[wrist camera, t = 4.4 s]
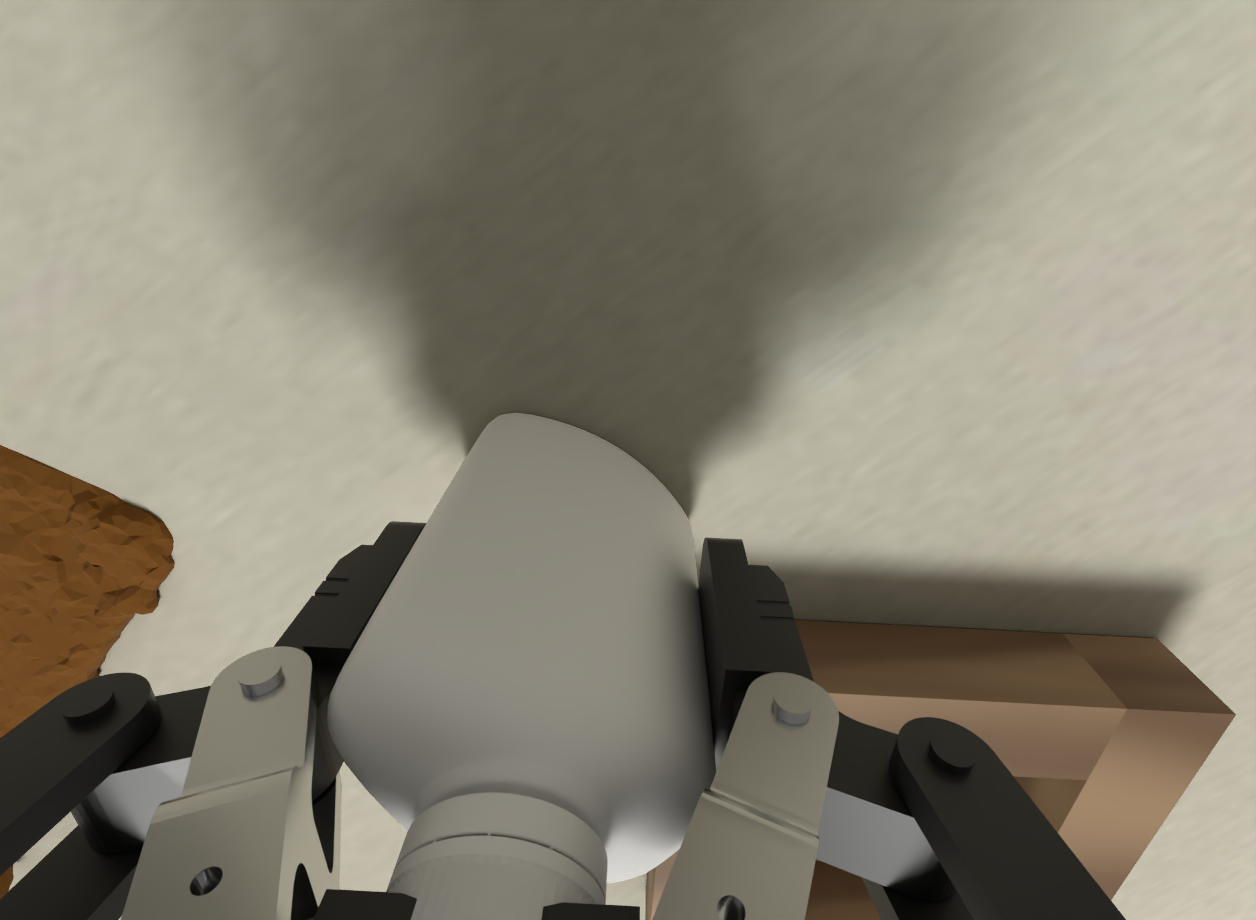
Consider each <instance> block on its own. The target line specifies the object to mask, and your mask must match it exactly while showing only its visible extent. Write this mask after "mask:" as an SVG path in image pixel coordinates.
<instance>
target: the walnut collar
mask: <svg viewBox="0 0 1256 920" xmlns="http://www.w3.org/2000/svg"><path fill="white" fill-rule="evenodd" d="M794 622H796V625H797V628H798V632H799V635H800V638H801V641H802V645H803V648H804V651H805V654H806V658H807V661H808V664H809V667H810V671H811V674H812V677H813V680H814V682H815V683H816V684H818V685H819V686H820V687H822V688H823V689H824V690H825V691H826V692H827V693H828V694H829V695H830V697H831V698H832V699H833V701H834V703H835V704H836V707H837V709H838V711H839V712H841V713H843V714H844V715H846V716H848V717H850V718H852V719H854V720H856V721H858V722H861V723H864V724H867V725H870V726H873V727H876V728H879V729H883V730H886V731H889V732H892V733H895V734H899V731H900V729H901V728H902V727H903V725H904V724H906V723H907V722H908V721H910V720H913V719H916V718H921V717H934V718H940V719H944V720H948V721H951V722H954V723H956V724H958V725H960V726H963V727H965V728H966V729H968V730H970V731H971V732H973V733H974V734H976V735H977V736H978V737H980V738H981V739H982V740H983V741H984V742H985V743H986V744H988V745H989V747H990V748H991V749H992V750H993V751H994V752H995V754H996V755H997V756H998V757H999V759H1000V760H1001V761H1002V762H1003V764H1004V765H1005V766H1006V768H1007V769H1008V770H1009V771H1010V773H1011V774H1012V775H1013V776H1014V778H1015V779H1016V780H1017V782H1018V783H1019V784H1020V785H1021V787H1022V788H1023V789H1024V791H1025V792H1026V793H1027V794H1028V796H1029V797H1030V798H1031V799H1032V801H1033V802H1034V803H1035V805H1036V806H1037V807H1038V808H1039V810H1040V811H1041V812H1042V813H1043V815H1044V816H1045V817H1046V819H1047V820H1048V821H1049V822H1050V824H1051V825H1052V826H1053V827H1054V829H1055V830H1056V831H1057V833H1058V834H1059V835H1060V836H1061V838H1062V839H1063V840H1064V842H1065V843H1066V844H1067V845H1068V847H1069V848H1070V849H1071V850H1072V852H1073V853H1074V854H1075V856H1076V857H1077V858H1078V859H1079V861H1080V862H1081V863H1082V864H1083V866H1084V867H1085V868H1086V870H1087V871H1088V872H1089V873H1090V875H1091V876H1092V877H1093V878H1094V880H1095V881H1096V882H1097V884H1098V885H1099V886H1100V887H1101V889H1102V890H1103V891H1104V892H1105V894H1106V895H1107V896H1108V898H1109V899H1110V900H1112V898H1113V897H1114V895H1115V894H1116V892H1117V891H1118V889H1119V888H1120V886H1121V885H1122V883H1123V882H1124V880H1125V879H1126V877H1127V876H1128V874H1129V873H1130V871H1131V870H1132V868H1133V867H1134V865H1135V864H1136V862H1137V861H1138V859H1139V858H1140V856H1141V855H1142V854H1143V852H1144V851H1145V849H1146V848H1147V846H1148V845H1149V843H1150V842H1151V840H1152V839H1153V837H1154V836H1155V834H1156V833H1157V831H1158V830H1159V828H1160V827H1161V825H1162V824H1163V822H1164V821H1165V819H1166V818H1167V816H1168V815H1169V813H1170V812H1171V810H1172V809H1173V807H1174V806H1175V804H1176V803H1177V802H1178V800H1179V799H1180V797H1181V796H1182V794H1183V793H1184V791H1185V790H1186V788H1187V787H1188V785H1189V784H1190V782H1191V781H1192V779H1193V778H1194V776H1195V775H1196V773H1197V772H1198V770H1199V769H1200V767H1201V766H1202V764H1203V763H1204V761H1205V760H1206V758H1207V757H1208V755H1209V754H1210V752H1211V751H1212V750H1213V748H1214V747H1215V745H1216V744H1217V742H1218V741H1219V739H1220V738H1221V736H1222V735H1223V733H1224V732H1225V730H1226V729H1227V727H1228V726H1229V724H1230V723H1231V721H1232V720H1233V718H1234V717H1235V715H1236V714H1235V713H1234V712H1233V711H1232V710H1231V709H1230V708H1229V707H1228V706H1227V705H1225V704H1224V703H1223V702H1222V701H1221V700H1220V699H1219V698H1218V697H1217V696H1216V695H1215V694H1214V693H1213V692H1212V691H1211V690H1210V689H1209V688H1208V687H1207V686H1206V685H1205V684H1204V683H1203V682H1202V681H1201V680H1200V679H1198V678H1197V677H1196V676H1195V675H1194V674H1193V673H1192V672H1191V671H1190V670H1189V669H1188V668H1187V667H1186V666H1185V665H1184V664H1183V663H1182V662H1181V661H1180V660H1179V659H1178V658H1177V657H1176V656H1175V655H1174V654H1173V653H1172V652H1170V651H1169V650H1168V649H1167V648H1166V647H1165V646H1164V645H1163V644H1162V643H1161V642H1160V641H1159V640H1158V639H1156V638H1137V637H1117V636H1098V635H1078V634H1059V633H1040V632H1020V631H1001V630H982V629H962V628H943V627H924V626H904V625H885V624H865V623H846V622H827V621H807V620H794ZM678 852H679V850H678V851H676V852H675V853H674V854H673V855H671V856H670V857H669V858H668V859H666V860H665V861H664V862H662V863H661V864H659V865H658V866H657V867H655V868H653V869H652V870H650V871H649V872H648V874H647V885H646V920H652V919H653V916H654V914H655V911H656V908H657V906H658V903H659V901H660V898H661V896H662V893H663V890H664V888H665V885H666V883H667V880H668V877H669V875H670V872H671V870H672V867H673V865H674V862H675V859H676V857H677V854H678ZM805 920H881V918H880V916H879V914H878V912H877V910H876V907H875V905H874V903H873V901H872V899H871V897H870V895H869V892H868V890H867V888H866V886H865V884H864V882H863V879H862V877H860V876H858V875H855V874H852V873H850V872H847V871H845V870H842V869H840V868H837V867H835V866H832V865H830V864H827V863H824V862H822V861H815V867H814V872H813V877H812V883H811V888H810V894H809V899H808V904H807V910H806V915H805Z"/></svg>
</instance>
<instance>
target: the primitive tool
mask: <svg viewBox="0 0 1256 920" xmlns="http://www.w3.org/2000/svg"><path fill="white" fill-rule="evenodd" d="M173 542H174V541H173V537H172V535H171V533H170V531H169V530H168V528H167V527H166V525H165V524H164V522H163V521H161V520H159V519H157V518H156V517H155V516H154V515H152V514H151V513H149V512H146V511H145V510H143V509H141V508H138V507H135V506H132V505H130V504H128V503H126V502H124V501H123V500H121V499H120V498H118V497H117V496H115V495H113V494H111V493H109V492H107V491H106V490H103V489H101V488H99V487H96V486H94V485H92V484H90V483H87V482H85V481H83V480H80V479H78V478H75V477H73V476H71V475H68V474H66V473H64V472H61V471H59V470H57V469H55V468H52V467H50V466H48V465H46V464H43V463H41V462H39V461H37V460H34V459H32V458H29V457H27V456H25V455H22V454H20V453H18V452H15V451H13V450H11V449H8V448H6V447H3V446H1V445H0V738H1V737H2V736H4V735H5V734H6V733H8V732H9V731H10V730H12V729H13V728H14V727H16V726H17V725H18V724H20V723H21V722H23V721H24V720H25V719H27V718H28V717H29V716H31V715H32V714H33V713H35V712H36V711H37V710H39V709H40V708H41V707H43V706H44V705H45V704H47V703H48V702H49V701H51V700H52V699H54V698H55V697H57V696H58V695H59V694H61V693H63V692H64V691H66V690H68V689H70V688H71V687H74V686H76V685H78V684H80V683H82V682H85V681H87V680H90V679H93V678H96V677H99V674H98V673H97V672H98V667H100V666H101V665H102V663H103V662H104V661H105V656H106V654H107V653H108V651H109V650H110V648H111V647H112V645H113V644H114V643H115V642H116V641H117V640H118V639H119V638H120V635H121V632H122V631H123V630H124V628H125V627H126V626H127V624H128V623H129V622H130V620H131V619H132V618H133V617H134V615H135V613H138V614H148V613H152V612H153V611H154V610H155V608H156V607H157V606H158V603H159V597H158V595H157V589H158V587H159V586H160V585H161V583H162V582H163V581H164V580H165V579H166V578H167V576H168V575H169V574H170V572H171V571H172V570H173V568H174V564H175V563H174V561H173V560H172V558H171V557H170V555H171V553H172V550H173ZM12 880H13V865H12V866H11V867H10V868H8V869H7V870H6V871H5V872H4V873H3V874H2V875H1V876H0V899H1V898H2V897H3V896H4V895H6V894H7V893H8V891H9V887H10V885H11V883H12Z"/></svg>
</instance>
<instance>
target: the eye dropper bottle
mask: <svg viewBox="0 0 1256 920" xmlns="http://www.w3.org/2000/svg"><path fill="white" fill-rule="evenodd" d="M698 587H699V586H698V577H697V567H696V558H695V549H694V540H693V534H692V529H691V524H690V522H689V519H688V518H687V516H686V514H685V513H684V511H683V509H682V508H681V506H680V505H679V504H678V502H677V501H676V500H675V498H674V497H673V496H672V494H671V493H670V492H669V491H668V490H667V489H666V487H665V486H664V485H663V484H662V483H661V482H660V481H659V480H658V479H657V478H656V477H655V476H654V475H653V474H652V473H651V472H650V471H649V470H648V469H646V468H645V467H644V466H643V465H642V464H640V463H639V462H638V461H637V460H635V459H634V458H633V457H631V456H630V455H629V454H627V453H626V452H624V451H623V450H621V449H620V448H618V447H616V446H615V445H613V444H611V443H609V442H608V441H606V440H604V439H602V438H600V437H598V436H596V435H594V434H592V433H589V432H587V431H585V430H582V429H580V428H577V427H575V426H572V425H569V424H566V423H563V422H560V421H556V420H553V419H549V418H545V417H540V416H536V415H531V414H523V413H510V414H503V415H499V416H497V417H496V418H495V419H494V420H492V421H491V422H490V423H489V424H488V425H487V426H486V427H485V429H484V430H483V432H482V433H481V434H480V436H479V437H478V439H477V440H476V442H475V444H474V445H473V447H472V449H471V450H470V452H469V453H468V455H467V457H466V458H465V460H464V461H463V463H462V465H461V466H460V468H459V470H458V471H457V473H456V475H455V476H454V478H453V480H452V481H451V483H450V485H449V486H448V488H447V490H446V491H445V493H444V495H443V497H442V498H441V500H440V502H439V503H438V505H437V507H436V508H435V510H434V512H433V513H432V515H431V517H430V518H429V520H428V522H427V523H426V525H425V527H424V528H423V530H422V532H421V533H420V535H419V537H418V538H417V540H416V542H415V544H414V545H413V547H412V549H411V550H410V552H409V554H408V555H407V557H406V559H405V560H404V562H403V564H402V566H401V567H400V569H399V571H398V572H397V574H396V576H395V577H394V579H393V581H392V583H391V584H390V586H389V588H388V589H387V591H386V593H385V594H384V596H383V598H382V599H381V601H380V603H379V605H378V606H377V608H376V610H375V611H374V613H373V615H372V617H371V618H370V620H369V622H368V624H367V625H366V627H365V629H364V631H363V632H362V634H361V636H360V638H359V640H358V641H357V643H356V645H355V647H354V648H353V650H352V652H351V654H350V655H349V657H348V659H347V661H346V663H345V664H344V666H343V668H342V670H341V672H340V674H339V676H338V678H337V680H336V683H335V685H334V687H333V689H332V692H331V694H330V698H329V704H328V715H327V722H328V730H329V732H330V735H331V737H332V740H333V742H334V744H335V746H336V748H337V750H338V752H339V753H340V755H341V757H342V758H343V760H344V762H345V763H346V765H347V766H348V767H349V769H350V770H351V771H352V772H353V774H354V775H355V776H356V777H357V778H358V780H359V781H360V782H361V783H362V785H363V786H364V787H365V788H366V789H367V791H368V792H369V793H370V794H371V795H372V796H373V797H374V798H375V799H376V800H377V801H378V802H379V803H380V804H381V805H382V806H383V807H384V808H385V809H386V810H387V811H388V812H389V813H390V814H391V815H392V816H393V817H394V818H395V819H396V820H397V821H398V822H399V823H400V824H401V825H402V826H403V827H404V828H405V829H406V830H408V832H407V835H406V838H405V841H404V843H403V846H402V849H401V852H400V855H399V858H398V860H397V863H396V866H395V869H394V872H393V875H392V877H391V880H390V883H389V886H388V888H387V891H386V892H388V893H403V894H406V895H409V896H411V897H414V898H417V901H416V905H415V908H414V911H413V914H412V918H411V920H541V919H542V912H543V907H544V906H548V905H553V904H557V903H562V902H565V903H583V904H601V905H605V901H606V884H607V883H614V882H621V881H625V880H628V879H632V878H635V877H637V876H640V875H643V874H645V873H647V872H649V871H650V870H652V869H653V868H655V867H657V866H658V865H659V864H661V863H662V862H664V861H665V860H666V859H668V858H669V857H670V856H671V855H673V854H674V853H675V852H676V851H678V850H679V849H680V847H681V844H682V841H683V839H684V836H685V834H686V831H687V829H688V826H689V823H690V821H691V818H692V816H693V813H694V810H695V808H696V805H697V803H698V801H699V798H700V796H701V794H702V792H703V791H704V789H705V788H706V789H708V790H709V789H710V787H711V785H712V782H713V780H714V777H715V774H716V761H715V751H714V743H713V731H712V720H711V708H710V699H709V689H708V679H707V669H706V660H705V650H704V640H703V631H702V621H701V612H700V602H699V593H698Z"/></svg>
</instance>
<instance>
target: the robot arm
mask: <svg viewBox="0 0 1256 920" xmlns="http://www.w3.org/2000/svg"><path fill="white" fill-rule="evenodd" d="M425 525H426V523H412V522H390V523H389V524H388V525H387V526H386V527H385V529H384V530H383V532H382V533H381V535H380V536H379V537H378V539H377V540H376V542H375V543H374V545H361V546H359V547H358V548H356V549H355V550H353V551H352V552H350V553H349V554H347V555H346V556H344V557H343V558H341V559H340V560H339V561H338V562H337V564H336V565H335V566H334V568H333V569H332V570H331V572H330V573H329V574H328V576H327V577H326V581H323V582H322V584H321V585H320V586H319V588H318V589H317V590H316V591H315V596H312V597H311V598H310V599H309V601H308V602H307V603H306V605H305V606H304V607H303V609H302V610H301V611H300V613H299V614H298V615H297V617H296V618H295V619H294V621H293V622H292V623H291V624H290V626H289V627H288V628H287V630H286V631H285V632H284V634H283V635H282V636H281V638H280V639H279V640H278V642H277V643H276V644H275V646H274V647H270V648H265V649H261V650H258V651H255V652H252V653H250V654H247V655H245V656H243V657H241V658H239V659H238V660H236V661H234V662H233V663H231V664H230V665H229V666H227V667H226V668H225V669H224V670H223V671H222V672H221V673H220V674H219V675H218V676H217V677H216V678H215V680H214V682H213V683H212V685H211V686H208V687H204V688H198V689H193V690H187V691H182V692H177V693H171V694H166V695H161V696H155V695H154V693H153V691H152V688H151V686H150V683H149V682H148V681H147V679H146V678H144V677H143V676H141V675H138V674H134V673H114V674H108V675H103V676H99V677H96V678H93V679H90V680H87V681H85V682H82V683H80V684H78V685H76V686H74V687H71V688H70V689H68V690H66V691H64V692H63V693H61V694H59V695H58V696H57V697H55V698H54V699H52V700H51V701H49V702H48V703H47V704H45V705H44V706H43V707H41V708H40V709H39V710H37V711H36V712H35V713H33V714H32V715H31V716H29V717H28V718H27V719H25V720H24V721H23V722H21V723H20V724H18V725H17V726H16V727H14V728H13V729H12V730H10V731H9V732H8V733H6V734H5V735H4V736H2V737H1V738H0V876H1V875H2V874H3V873H4V872H5V871H6V870H7V869H8V868H10V867H11V866H12V865H13V864H14V863H15V862H16V861H17V860H18V859H19V858H20V857H21V856H23V855H24V854H25V853H26V852H27V851H28V850H29V849H30V848H31V847H32V846H33V845H35V844H36V843H37V842H38V841H39V840H40V839H41V838H42V837H43V836H44V835H45V834H46V833H48V832H49V831H50V830H51V829H52V828H53V827H54V826H55V825H56V824H57V823H58V822H60V821H61V820H62V819H63V818H64V817H65V816H66V815H67V814H68V813H69V812H70V811H71V813H72V815H73V816H74V818H75V820H76V822H77V823H78V826H77V827H76V828H75V829H74V830H73V831H72V832H71V833H70V834H69V835H68V836H67V837H65V838H64V839H63V840H62V841H61V842H60V843H59V844H58V845H57V846H56V847H55V848H54V849H53V850H52V851H51V852H50V853H49V854H48V855H47V856H45V857H44V858H43V859H42V860H41V861H40V862H39V863H38V864H37V865H36V866H35V867H34V868H33V869H32V870H31V871H30V872H29V873H28V874H27V875H26V876H24V877H23V878H22V879H21V880H20V881H19V882H18V883H17V884H16V885H15V886H14V887H13V888H12V889H11V890H10V891H9V892H8V893H7V894H6V895H4V896H3V897H2V898H1V899H0V920H118V919H119V918H120V917H121V916H122V917H121V920H411V918H412V914H413V911H414V908H415V905H416V901H417V898H414V897H411V896H409V895H406V894H403V893H388V892H371V891H353V890H339V875H340V833H341V792H342V783H341V776H340V772H339V770H340V768H341V766H342V764H343V762H344V760H343V758H342V757H341V755H340V753H339V752H338V750H337V748H336V746H335V744H334V742H333V740H332V737H331V735H330V732H329V730H328V722H327V715H328V704H329V698H330V694H331V692H332V689H333V687H334V685H335V683H336V680H337V678H338V676H339V674H340V672H341V670H342V668H343V666H344V664H345V663H346V661H347V659H348V657H349V655H350V654H351V652H352V650H353V648H354V647H355V645H356V643H357V641H358V640H359V638H360V636H361V634H362V632H363V631H364V629H365V627H366V625H367V624H368V622H369V620H370V618H371V617H372V615H373V613H374V611H375V610H376V608H377V606H378V605H379V603H380V601H381V599H382V598H383V596H384V594H385V593H386V591H387V589H388V588H389V586H390V584H391V583H392V581H393V579H394V577H395V576H396V574H397V572H398V571H399V569H400V567H401V566H402V564H403V562H404V560H405V559H406V557H407V555H408V554H409V552H410V550H411V549H412V547H413V545H414V544H415V542H416V540H417V538H418V537H419V535H420V533H421V532H422V530H423V528H424V527H425ZM698 593H699V602H700V612H701V621H702V631H703V640H704V650H705V660H706V669H707V679H708V689H709V699H710V708H711V720H712V731H713V743H714V751H715V761H716V774H715V777H714V780H713V782H712V785H711V787H710V789H709V790H708V789H706V788H705V789H704V791H703V792H702V794H701V796H700V798H699V801H698V803H697V805H696V808H695V810H694V813H693V816H692V818H691V821H690V823H689V826H688V829H687V831H686V834H685V836H684V839H683V841H682V844H681V847H680V849H679V852H678V854H677V857H676V859H675V862H674V865H673V867H672V870H671V872H670V875H669V877H668V880H667V883H666V885H665V888H664V890H663V893H662V896H661V898H660V901H659V903H658V906H657V908H656V911H655V914H654V916H653V919H652V920H805V915H806V910H807V904H808V899H809V894H810V888H811V883H812V877H813V872H814V867H815V861H816V859H817V860H819V861H822V862H824V863H827V864H830V865H832V866H835V867H837V868H840V869H842V870H845V871H847V872H850V873H852V874H855V875H858V876H860V877H862V879H863V882H864V884H865V886H866V888H867V890H868V892H869V895H870V897H871V899H872V901H873V903H874V905H875V907H876V910H877V912H878V914H879V916H880V918H881V920H1126V919H1125V918H1124V917H1123V915H1122V914H1121V913H1120V912H1119V910H1118V909H1117V908H1116V907H1115V905H1114V904H1113V903H1112V901H1111V900H1110V899H1109V898H1108V896H1107V895H1106V894H1105V892H1104V891H1103V890H1102V889H1101V887H1100V886H1099V885H1098V884H1097V882H1096V881H1095V880H1094V878H1093V877H1092V876H1091V875H1090V873H1089V872H1088V871H1087V870H1086V868H1085V867H1084V866H1083V864H1082V863H1081V862H1080V861H1079V859H1078V858H1077V857H1076V856H1075V854H1074V853H1073V852H1072V850H1071V849H1070V848H1069V847H1068V845H1067V844H1066V843H1065V842H1064V840H1063V839H1062V838H1061V836H1060V835H1059V834H1058V833H1057V831H1056V830H1055V829H1054V827H1053V826H1052V825H1051V824H1050V822H1049V821H1048V820H1047V819H1046V817H1045V816H1044V815H1043V813H1042V812H1041V811H1040V810H1039V808H1038V807H1037V806H1036V805H1035V803H1034V802H1033V801H1032V799H1031V798H1030V797H1029V796H1028V794H1027V793H1026V792H1025V791H1024V789H1023V788H1022V787H1021V785H1020V784H1019V783H1018V782H1017V780H1016V779H1015V778H1014V776H1013V775H1012V774H1011V773H1010V771H1009V770H1008V769H1007V768H1006V766H1005V765H1004V764H1003V762H1002V761H1001V760H1000V759H999V757H998V756H997V755H996V754H995V752H994V751H993V750H992V749H991V748H990V747H989V745H988V744H986V743H985V742H984V741H983V740H982V739H981V738H980V737H978V736H977V735H976V734H974V733H973V732H971V731H970V730H968V729H966V728H965V727H963V726H960V725H958V724H956V723H954V722H951V721H948V720H944V719H940V718H934V717H921V718H916V719H913V720H910V721H908V722H907V723H906V724H904V725H903V727H902V728H901V729H900V731H899V734H895V733H892V732H889V731H886V730H883V729H879V728H876V727H873V726H870V725H867V724H864V723H861V722H858V721H856V720H854V719H852V718H850V717H848V716H846V715H844V714H843V713H841V712H839V711H838V709H837V707H836V704H835V703H834V701H833V699H832V698H831V697H830V695H829V694H828V693H827V692H826V691H825V690H824V689H823V688H822V687H820V686H819V685H818V684H816V683H815V682H814V680H813V677H812V674H811V671H810V667H809V664H808V661H807V658H806V654H805V651H804V648H803V645H802V641H801V638H800V635H799V632H798V628H797V625H796V622H794V615H793V612H792V609H791V606H789V599H788V596H787V593H786V589H785V586H784V583H783V582H782V581H781V580H780V579H779V577H778V576H777V575H776V574H775V573H774V572H773V571H772V570H771V569H770V568H769V567H768V566H759V565H748V562H747V557H746V553H745V549H744V545H743V541H742V540H740V539H720V538H705V539H704V543H703V551H702V560H701V569H700V578H699V587H698ZM541 920H640V907H636V906H618V905H601V904H583V903H565V902H562V903H557V904H553V905H548V906H544V907H543V912H542V919H541Z"/></svg>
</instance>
